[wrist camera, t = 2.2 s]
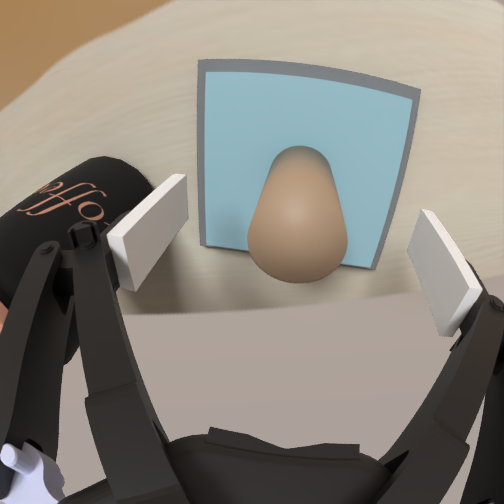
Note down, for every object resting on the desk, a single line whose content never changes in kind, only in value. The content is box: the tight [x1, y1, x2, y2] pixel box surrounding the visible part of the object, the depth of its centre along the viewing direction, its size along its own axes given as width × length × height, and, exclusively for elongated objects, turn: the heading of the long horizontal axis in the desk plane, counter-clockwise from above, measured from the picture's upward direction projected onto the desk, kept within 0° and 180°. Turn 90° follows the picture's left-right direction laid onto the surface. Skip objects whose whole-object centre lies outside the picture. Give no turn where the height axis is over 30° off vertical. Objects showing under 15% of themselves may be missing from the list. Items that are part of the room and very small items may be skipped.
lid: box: [205, 72, 413, 283], centre depth 17 cm, size 14×14×10 cm
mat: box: [197, 59, 421, 270], centre depth 21 cm, size 16×16×1 cm
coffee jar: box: [0, 156, 153, 365], centre depth 19 cm, size 11×11×18 cm
